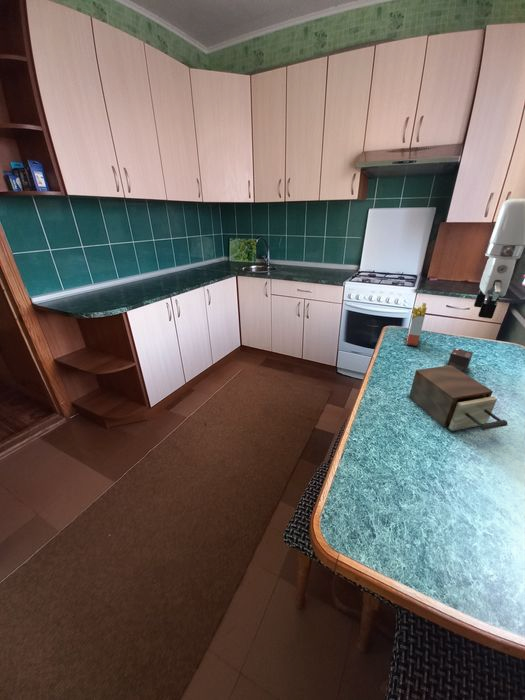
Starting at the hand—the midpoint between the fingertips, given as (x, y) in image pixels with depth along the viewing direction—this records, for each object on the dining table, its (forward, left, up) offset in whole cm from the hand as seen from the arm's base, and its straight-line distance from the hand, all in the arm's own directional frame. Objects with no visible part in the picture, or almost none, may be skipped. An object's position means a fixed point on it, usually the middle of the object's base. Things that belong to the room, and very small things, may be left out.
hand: (482, 312), depth 85 cm
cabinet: (+12, +7, -28) cm, 31 cm away
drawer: (+12, +13, -27) cm, 32 cm away
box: (-10, -11, -28) cm, 32 cm away
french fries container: (-9, -35, -28) cm, 45 cm away
